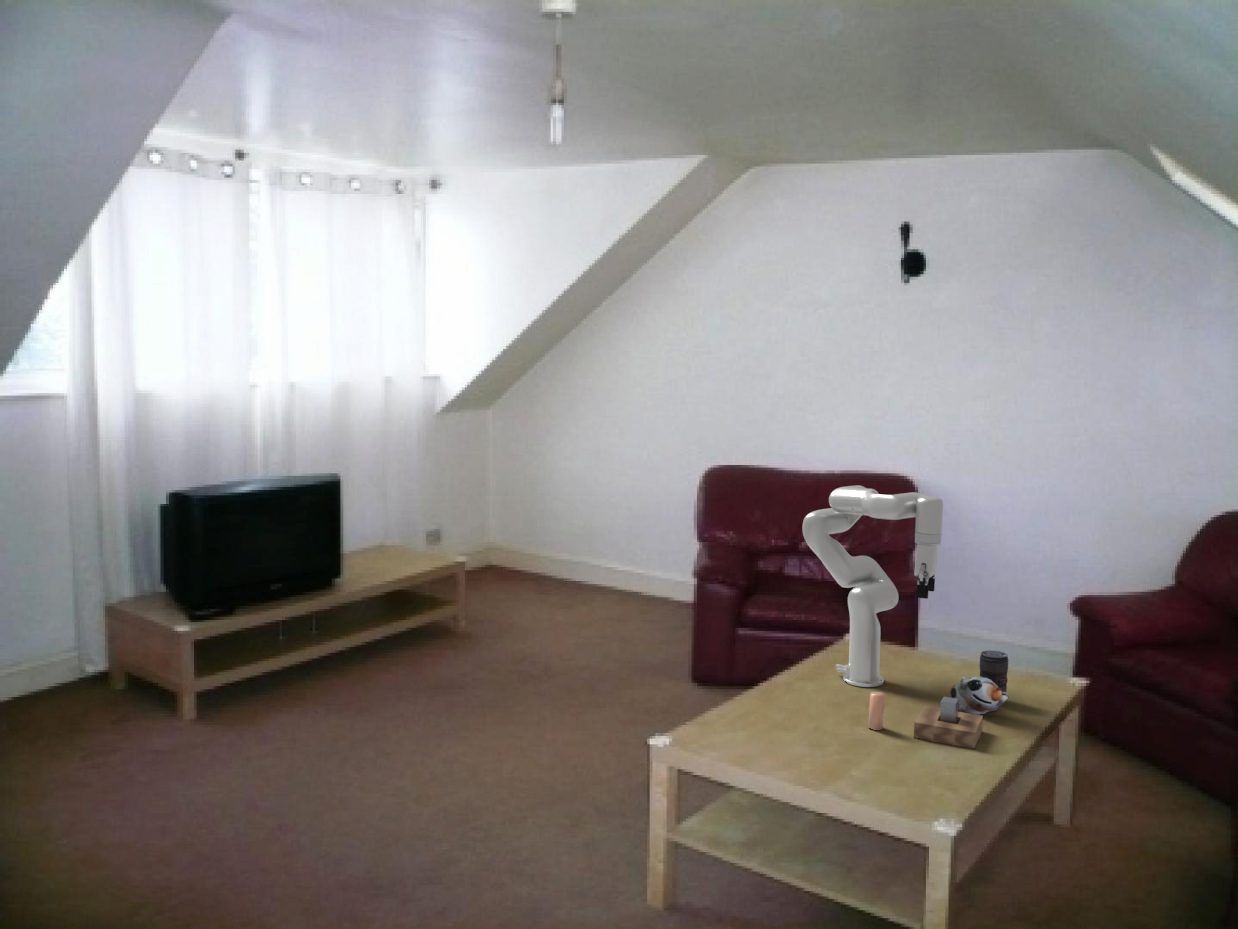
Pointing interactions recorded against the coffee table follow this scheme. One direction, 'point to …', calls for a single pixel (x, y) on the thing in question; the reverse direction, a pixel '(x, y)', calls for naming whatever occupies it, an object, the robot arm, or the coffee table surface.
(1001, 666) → the camera lens
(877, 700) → the round bit
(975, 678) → the lucky cat figurine
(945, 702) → the square bit
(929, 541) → the robot arm
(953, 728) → the bore block
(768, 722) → the coffee table surface
